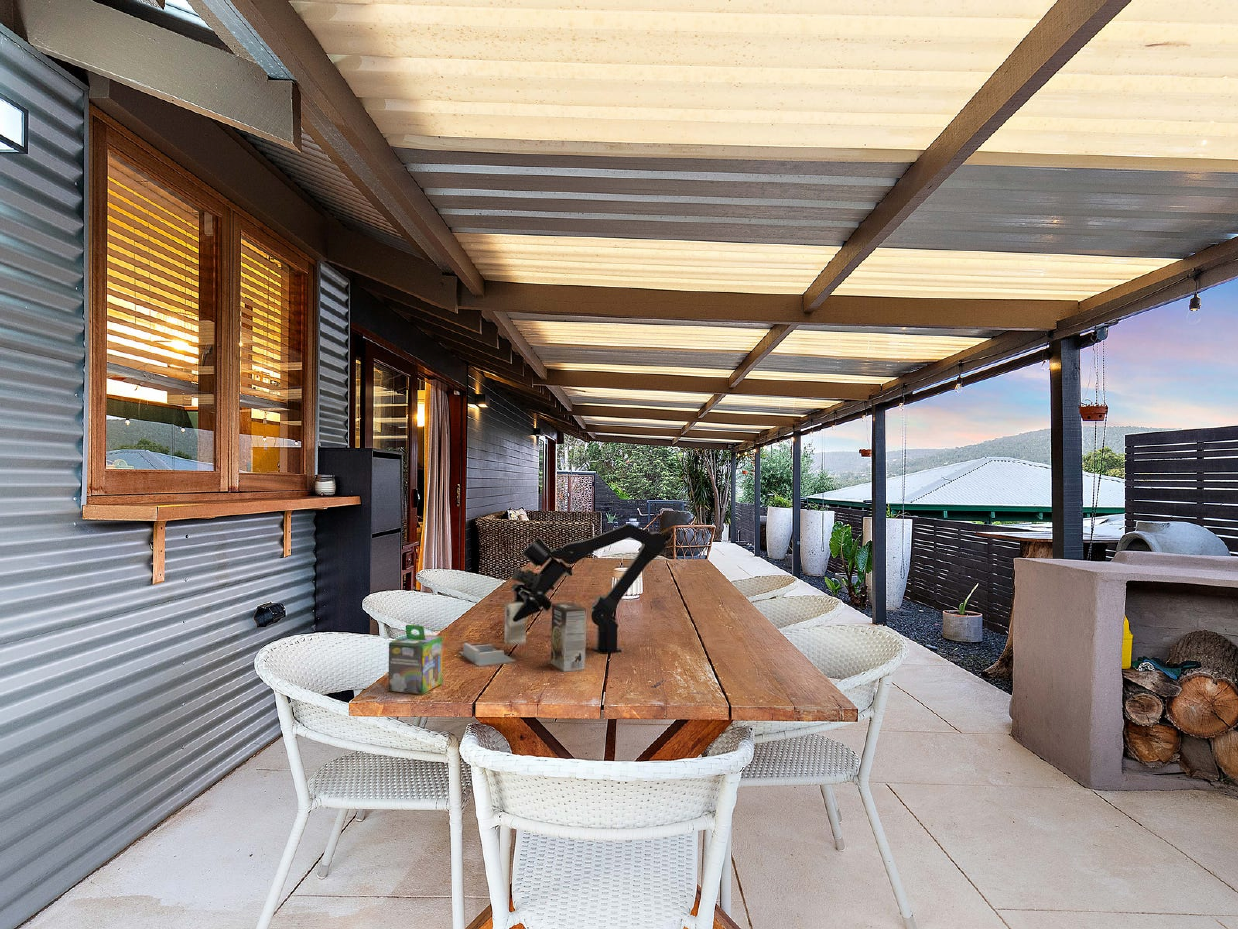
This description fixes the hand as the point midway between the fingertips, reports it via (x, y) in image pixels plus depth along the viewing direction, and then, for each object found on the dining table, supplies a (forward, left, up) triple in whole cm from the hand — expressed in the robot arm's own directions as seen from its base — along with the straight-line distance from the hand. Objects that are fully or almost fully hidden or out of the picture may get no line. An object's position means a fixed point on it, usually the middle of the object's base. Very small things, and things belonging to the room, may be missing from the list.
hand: (510, 619), depth 190 cm
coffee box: (-18, -9, -10) cm, 23 cm away
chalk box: (-18, +31, -10) cm, 37 cm away
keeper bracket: (0, +7, -10) cm, 12 cm away
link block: (0, -1, -7) cm, 7 cm away
